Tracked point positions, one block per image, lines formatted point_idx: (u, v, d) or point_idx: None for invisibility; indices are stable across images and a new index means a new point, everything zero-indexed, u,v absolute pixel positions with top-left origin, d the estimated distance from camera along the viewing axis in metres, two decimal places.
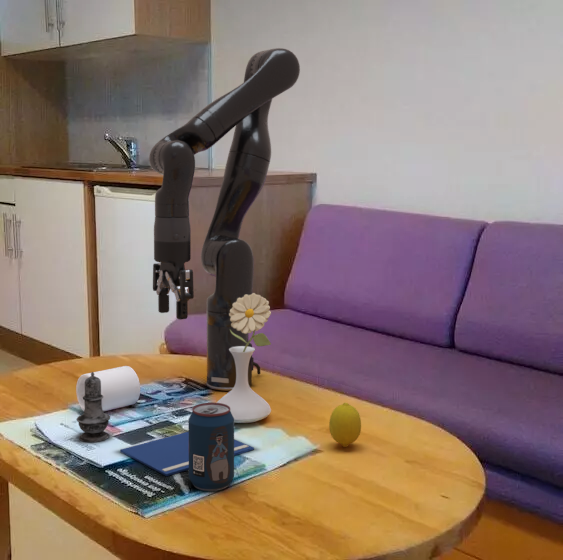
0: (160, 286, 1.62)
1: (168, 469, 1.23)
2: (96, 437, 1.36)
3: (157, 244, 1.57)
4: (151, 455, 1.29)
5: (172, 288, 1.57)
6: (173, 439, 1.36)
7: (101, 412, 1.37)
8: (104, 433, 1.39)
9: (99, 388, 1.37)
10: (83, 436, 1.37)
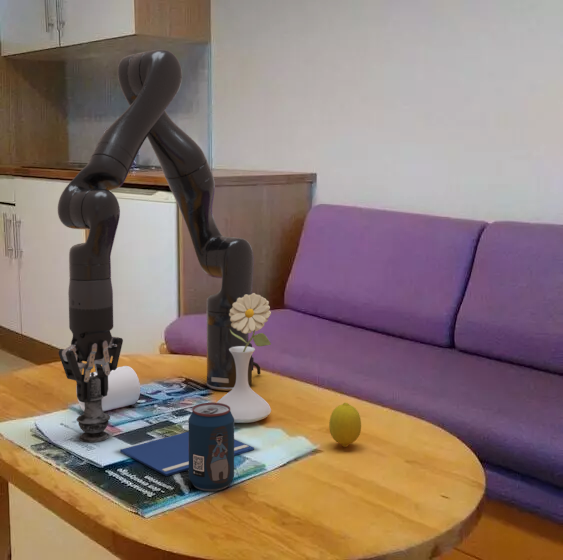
0: None
1: (168, 469, 1.23)
2: (97, 437, 1.36)
3: None
4: (151, 455, 1.29)
5: None
6: (173, 439, 1.36)
7: (101, 412, 1.37)
8: (104, 433, 1.39)
9: (99, 388, 1.36)
10: (83, 436, 1.37)
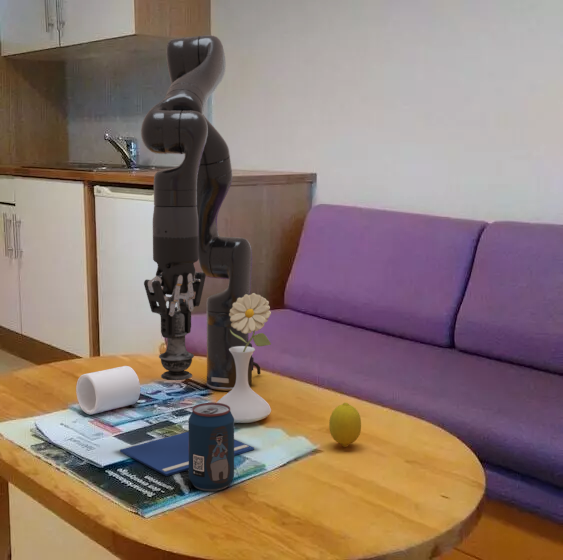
0: None
1: (168, 469, 1.23)
2: (180, 376, 1.29)
3: None
4: (151, 455, 1.29)
5: None
6: (173, 439, 1.36)
7: (185, 349, 1.30)
8: (187, 372, 1.31)
9: (183, 324, 1.29)
10: (166, 375, 1.30)
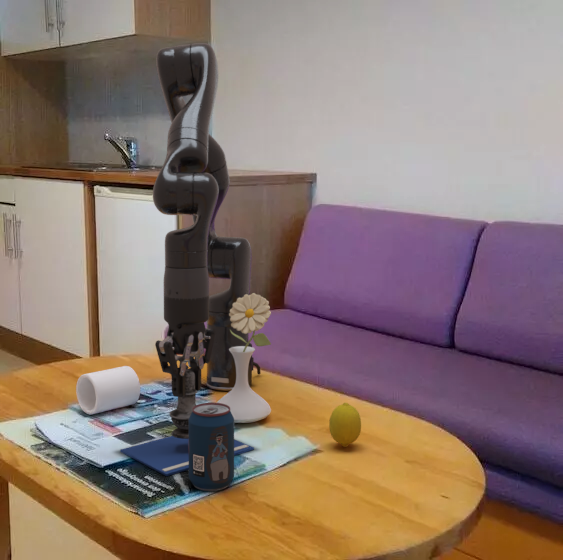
0: None
1: (168, 469, 1.23)
2: None
3: None
4: (151, 455, 1.29)
5: None
6: (173, 439, 1.36)
7: None
8: None
9: (194, 382, 1.30)
10: (176, 432, 1.31)
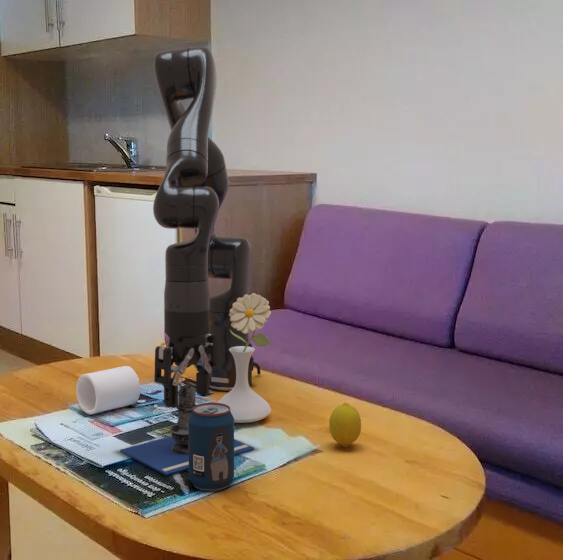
0: None
1: (168, 469, 1.23)
2: None
3: None
4: (151, 455, 1.29)
5: None
6: (173, 439, 1.36)
7: None
8: None
9: (194, 397, 1.30)
10: (177, 447, 1.31)
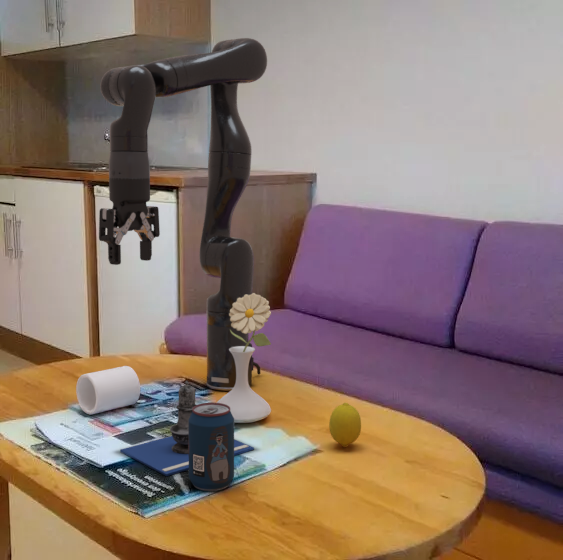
0: (134, 229, 1.49)
1: (168, 469, 1.23)
2: None
3: None
4: (151, 455, 1.29)
5: None
6: (173, 439, 1.36)
7: None
8: None
9: (194, 397, 1.30)
10: (177, 447, 1.31)
